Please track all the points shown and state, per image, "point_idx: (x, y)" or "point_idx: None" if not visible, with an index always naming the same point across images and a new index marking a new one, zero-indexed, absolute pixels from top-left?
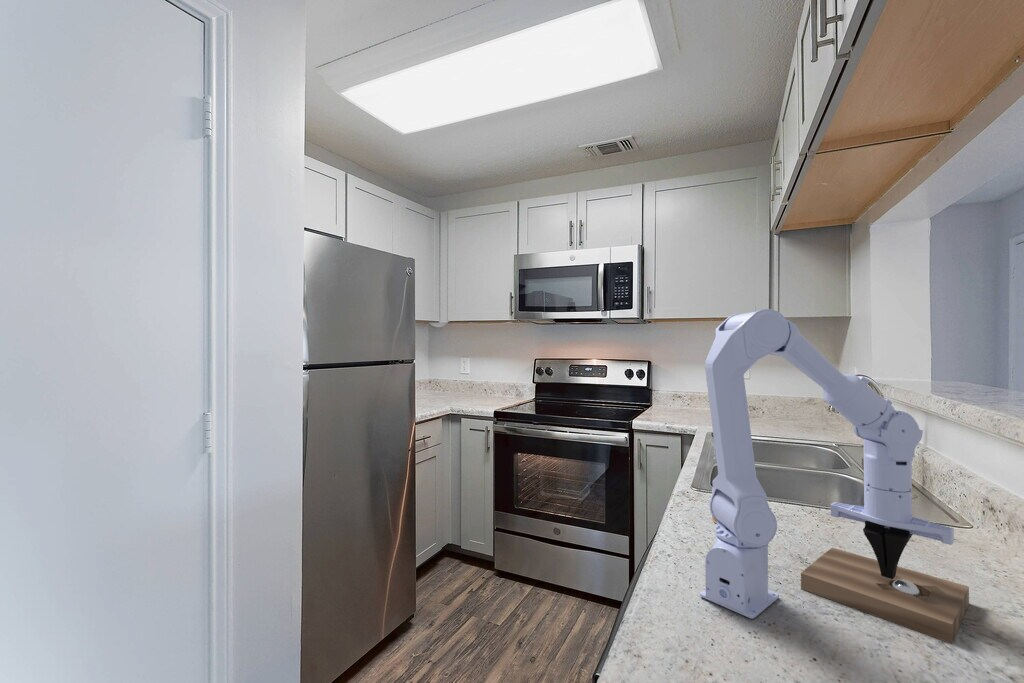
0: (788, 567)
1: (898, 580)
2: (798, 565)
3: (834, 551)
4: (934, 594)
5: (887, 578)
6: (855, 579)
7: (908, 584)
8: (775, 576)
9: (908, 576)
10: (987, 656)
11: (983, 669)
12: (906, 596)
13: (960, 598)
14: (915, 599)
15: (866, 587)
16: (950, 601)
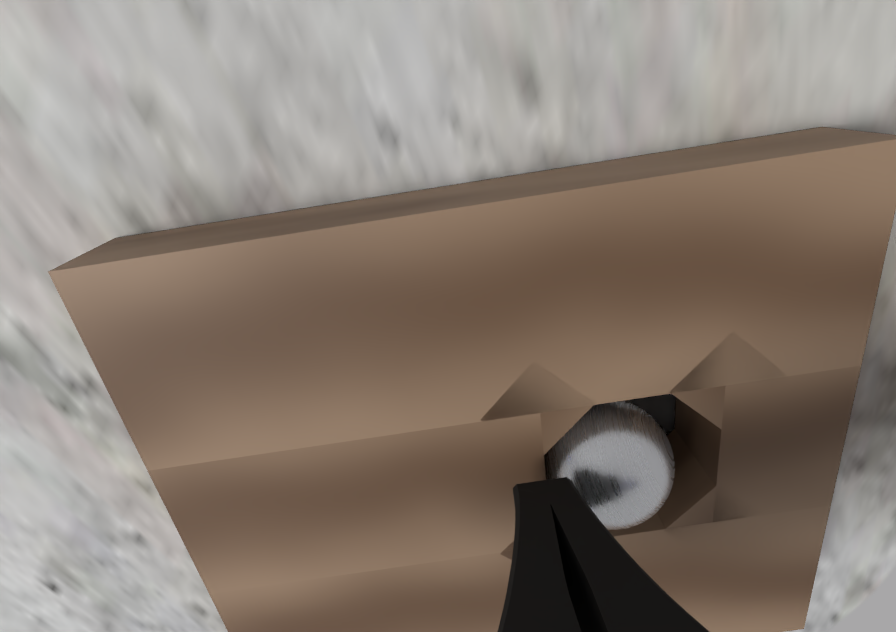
0: (101, 514)
1: (594, 512)
2: (97, 456)
3: (119, 334)
4: (736, 443)
5: (519, 453)
6: (429, 588)
7: (643, 518)
8: (159, 621)
9: (592, 324)
10: (843, 546)
11: (826, 614)
12: (639, 561)
13: (846, 376)
14: (673, 557)
15: (494, 613)
16: (802, 453)
